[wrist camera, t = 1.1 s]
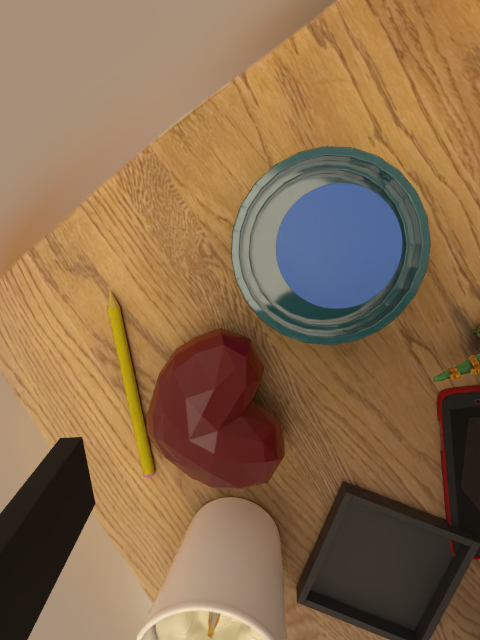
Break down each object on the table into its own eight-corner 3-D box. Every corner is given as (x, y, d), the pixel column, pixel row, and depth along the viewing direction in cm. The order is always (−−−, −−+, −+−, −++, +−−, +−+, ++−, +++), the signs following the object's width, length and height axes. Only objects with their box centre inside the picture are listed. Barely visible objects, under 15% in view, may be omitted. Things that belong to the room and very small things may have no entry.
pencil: (156, 470, 35) (152, 476, 34) (146, 471, 35) (142, 477, 34) (117, 287, 33) (112, 288, 32) (106, 289, 33) (101, 290, 32)
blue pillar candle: (386, 220, 29) (423, 206, 21) (350, 308, 30) (373, 326, 22) (297, 190, 29) (301, 165, 22) (265, 278, 31) (258, 285, 23)
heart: (179, 480, 34) (288, 447, 34) (161, 538, 26) (303, 496, 26) (135, 349, 33) (247, 314, 33) (103, 369, 25) (251, 324, 25)
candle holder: (164, 505, 35) (103, 628, 24) (265, 474, 34) (254, 590, 22) (205, 597, 36) (166, 760, 25) (305, 571, 35) (315, 732, 23)
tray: (471, 530, 32) (481, 543, 31) (416, 635, 34) (422, 653, 33) (342, 480, 33) (346, 492, 31) (296, 587, 35) (296, 602, 34)
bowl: (445, 191, 29) (464, 184, 26) (373, 360, 31) (382, 371, 28) (270, 133, 29) (269, 119, 26) (214, 302, 32) (206, 307, 29)
